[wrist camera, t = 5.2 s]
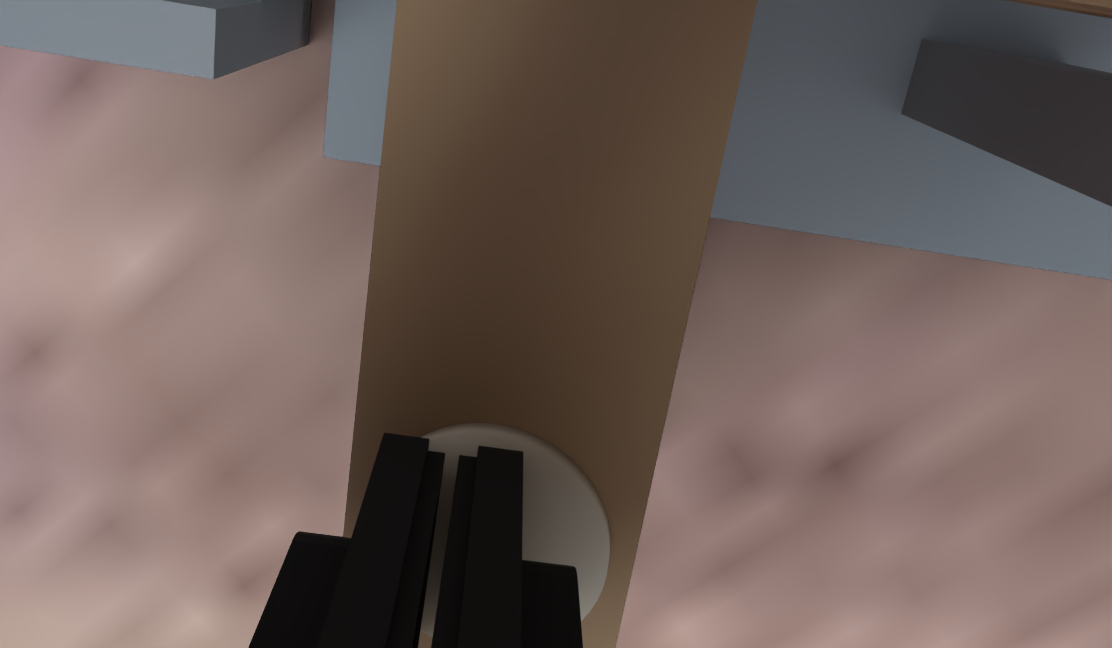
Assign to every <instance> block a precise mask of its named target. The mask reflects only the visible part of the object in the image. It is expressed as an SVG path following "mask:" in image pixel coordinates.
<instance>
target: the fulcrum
mask: <svg viewBox="0 0 1112 648" xmlns="http://www.w3.org/2000/svg"><path fill="white" fill-rule="evenodd" d="M396 4H397V0H335V13H334V25H333V38H332V50H331V63H330V75H329V88H328V100H327V113H326V126H325V138H324V151H323V157H325V158H332V159H338V160H344V161H351V162H357V163H364V164H370V165H376V166H380V164H381V154H382V144H383V134H384V124H385V114H386V104H387V94H388V84H389V74H390V64H391V54H392V44H393V34H394V24H395V14H396ZM710 218H716V219H723V220H729V221H736V222H742V223H748V224H755V225H761V226H768V227H774V228H781V229H787V230H793V231H800V232H806V233H813V234H819V235H825V236H832V237H838V238H845V239H851V240H858V241H864V242H870V243H877V244H883V245H890V246H896V247H902V248H909V249H915V250H922V251H928V252H934V253H941V254H947V255H954V256H960V257H967V258H973V259H979V260H986V261H992V262H999V263H1005V264H1011V265H1018V266H1024V267H1031V268H1037V269H1044V270H1050V271H1056V272H1063V273H1069V274H1076V275H1082V276H1088V277H1095V278H1101V279H1108V280H1112V19H1110V18H1104V17H1098V16H1092V15H1086V14H1081V13H1075V12H1069V11H1063V10H1057V9H1051V8H1045V7H1039V6H1033V5H1027V4H1021V3H1016V2H1010V1H1004V0H758V1H757V6H756V10H755V15H754V19H753V24H752V28H751V33H750V38H749V42H748V47H747V51H746V56H745V60H744V65H743V69H742V74H741V78H740V83H739V88H738V92H737V97H736V101H735V106H734V110H733V115H732V119H731V124H730V128H729V133H728V138H727V142H726V147H725V151H724V156H723V160H722V165H721V169H720V174H719V178H718V183H717V188H716V192H715V197H714V201H713V206H712V210H711V215H710Z"/></svg>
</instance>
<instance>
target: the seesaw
mask: <svg viewBox="0 0 1112 648" xmlns="http://www.w3.org/2000/svg"><path fill="white" fill-rule="evenodd" d="M757 1H758V0H397V4H396V14H395V24H394V34H393V44H392V54H391V64H390V74H389V84H388V94H387V104H386V114H385V124H384V134H383V144H382V154H381V164H380V174H379V184H378V194H377V204H376V214H375V224H374V234H373V244H372V254H371V264H370V274H369V284H368V294H367V303H366V313H365V323H364V333H363V343H362V353H361V363H360V373H359V383H358V393H357V403H356V413H355V423H354V433H353V443H352V453H351V463H350V473H349V483H348V493H347V503H346V513H345V523H344V533H343V537H347V538H351V537H352V534H353V530H354V527H355V524H356V521H357V518H358V514H359V511H360V508H361V505H362V501H363V498H364V495H365V492H366V489H367V485H368V482H369V479H370V476H371V472H372V469H373V466H374V463H375V459H376V456H377V453H378V450H379V447H380V443H381V440H382V437H383V434H384V433H391V434H398V435H406V436H413V437H421V438H428V439H429V449H428V451H435V452H443V453H445V460H444V468H443V475H442V482H441V489H440V496H439V503H438V510H437V517H436V524H435V531H434V538H433V546H432V553H431V560H430V567H429V574H428V581H427V588H426V595H425V602H424V609H423V616H422V624H421V631H420V638H419V645H418V648H431V645H432V638H433V631H434V624H435V617H436V610H437V604H438V597H439V590H440V583H441V576H442V569H443V563H444V556H445V549H446V542H447V535H448V528H449V522H450V515H451V508H452V501H453V494H454V487H455V481H456V474H457V467H458V460H459V455H464V456H472V457H477V451H478V446H487V447H494V448H502V449H509V450H516V451H523V529H522V560H528V561H536V562H544V563H552V564H560V565H568V566H574V567H575V568H576V570H577V576H578V589H579V602H580V614H581V627H582V640H583V648H615V647H616V642H617V638H618V633H619V628H620V624H621V619H622V615H623V610H624V606H625V601H626V597H627V592H628V588H629V583H630V578H631V574H632V569H633V565H634V560H635V556H636V551H637V547H638V542H639V538H640V533H641V528H642V524H643V519H644V515H645V510H646V506H647V501H648V497H649V492H650V488H651V483H652V478H653V474H654V469H655V465H656V460H657V456H658V451H659V447H660V442H661V438H662V433H663V428H664V424H665V419H666V415H667V410H668V406H669V401H670V397H671V392H672V388H673V383H674V378H675V374H676V369H677V365H678V360H679V356H680V351H681V347H682V342H683V338H684V333H685V328H686V324H687V319H688V315H689V310H690V306H691V301H692V297H693V292H694V288H695V283H696V278H697V274H698V269H699V265H700V260H701V256H702V251H703V247H704V242H705V238H706V233H707V228H708V224H709V219H710V215H711V210H712V206H713V201H714V197H715V192H716V188H717V183H718V178H719V174H720V169H721V165H722V160H723V156H724V151H725V147H726V142H727V138H728V133H729V128H730V124H731V119H732V115H733V110H734V106H735V101H736V97H737V92H738V88H739V83H740V78H741V74H742V69H743V65H744V60H745V56H746V51H747V47H748V42H749V38H750V33H751V28H752V24H753V19H754V15H755V10H756V6H757ZM1004 1H1010V2H1016V3H1021V4H1027V5H1033V6H1039V7H1045V8H1051V9H1057V10H1063V11H1069V12H1075V13H1081V14H1086V15H1092V16H1098V17H1104V18H1110V19H1112V0H1004Z"/></svg>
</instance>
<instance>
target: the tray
mask: <svg viewBox="0 0 1112 648" xmlns="http://www.w3.org/2000/svg"><path fill="white" fill-rule="evenodd" d="M311 1H312V0H0V45H1V46H7V47H13V48H20V49H26V50H32V51H38V52H45V53H51V54H57V55H63V56H70V57H76V58H82V59H89V60H95V61H101V62H107V63H114V64H120V65H126V66H132V67H139V68H145V69H151V70H157V71H164V72H170V73H176V74H182V75H189V76H195V77H201V78H207V79H216V78H219V77H221V76H224V75H227V74H229V73H232V72H235V71H238V70H240V69H243V68H246V67H248V66H251V65H254V64H257V63H259V62H262V61H265V60H267V59H270V58H273V57H275V56H278V55H281V54H284V53H286V52H289V51H292V50H294V49H297V48H300V47H303V46H305V45H308V42H309V29H310V15H311Z"/></svg>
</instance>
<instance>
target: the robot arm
mask: <svg viewBox="0 0 1112 648" xmlns="http://www.w3.org/2000/svg"><path fill="white" fill-rule="evenodd" d="M428 449H429V439H428V438H421V437H413V436H406V435H398V434H391V433H384V434H383V437H382V440H381V443H380V447H379V450H378V453H377V456H376V459H375V463H374V466H373V469H372V472H371V476H370V479H369V482H368V485H367V489H366V492H365V495H364V498H363V501H362V505H361V508H360V511H359V514H358V518H357V521H356V524H355V527H354V530H353V534H352V537H351V538H347V537H339V536H331V535H323V534H315V533H307V532H297V533H296V535H295V537H294V539H293V540H292V543H291V545H290V548H289V550H288V553H287V555H286V558H285V560H284V562H283V565H282V567H281V570H280V572H279V575H278V577H277V579H276V582H275V584H274V587H273V589H272V592H271V594H270V597H269V599H268V601H267V604H266V606H265V609H264V611H263V614H262V616H261V619H260V621H259V623H258V626H257V628H256V631H255V633H254V636H253V638H252V640H251V643H250V645H249V648H418V645H419V638H420V631H421V624H422V616H423V609H424V602H425V595H426V588H427V581H428V574H429V567H430V560H431V553H432V546H433V538H434V531H435V524H436V517H437V510H438V503H439V496H440V489H441V482H442V475H443V468H444V460H445V453H443V452H435V451H428ZM522 529H523V451H516V450H509V449H502V448H494V447H487V446H478V451H477V457H472V456H464V455H459V460H458V467H457V474H456V481H455V487H454V494H453V501H452V508H451V515H450V522H449V528H448V535H447V542H446V549H445V556H444V563H443V569H442V576H441V583H440V590H439V597H438V604H437V610H436V617H435V624H434V631H433V638H432V645H431V648H583V640H582V627H581V614H580V602H579V589H578V576H577V570H576V568H575V567H574V566H568V565H560V564H552V563H544V562H536V561H528V560H522Z"/></svg>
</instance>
